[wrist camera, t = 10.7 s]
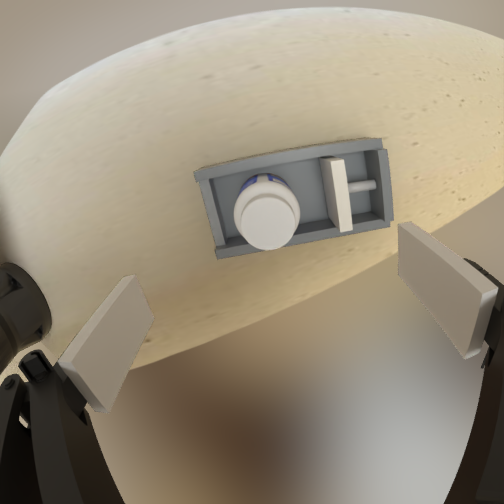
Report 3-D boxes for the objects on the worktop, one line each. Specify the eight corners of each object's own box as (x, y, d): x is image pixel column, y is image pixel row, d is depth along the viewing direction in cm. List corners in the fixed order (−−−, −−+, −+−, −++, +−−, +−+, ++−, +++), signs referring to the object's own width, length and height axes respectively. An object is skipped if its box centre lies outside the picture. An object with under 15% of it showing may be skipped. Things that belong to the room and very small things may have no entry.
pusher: (328, 217, 29) (340, 232, 25) (319, 157, 27) (330, 161, 22) (370, 209, 29) (388, 223, 24) (363, 151, 27) (381, 154, 22)
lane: (222, 245, 32) (215, 263, 28) (201, 167, 29) (190, 173, 25) (377, 216, 30) (394, 230, 26) (367, 137, 27) (385, 138, 23)
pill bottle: (244, 226, 31) (236, 265, 22) (235, 176, 28) (222, 195, 20) (295, 218, 30) (309, 255, 21) (288, 168, 28) (300, 183, 19)
